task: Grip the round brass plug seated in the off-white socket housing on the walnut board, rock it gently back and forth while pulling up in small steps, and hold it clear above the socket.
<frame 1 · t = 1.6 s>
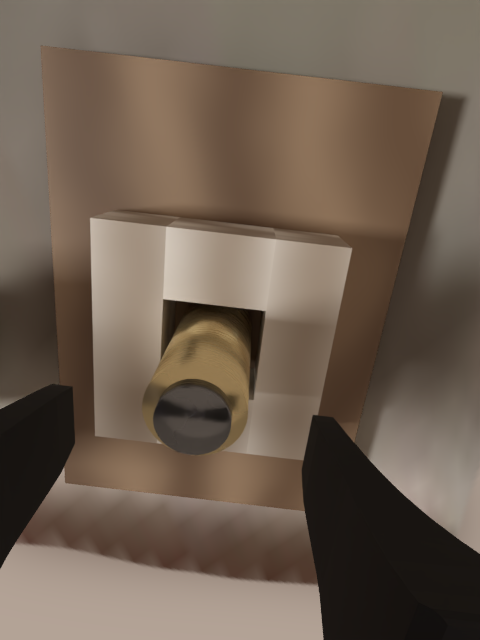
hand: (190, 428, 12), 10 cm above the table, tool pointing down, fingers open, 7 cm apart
header: (219, 315, 21), on the table
plug: (207, 363, 16), point 6 cm above the table, slide at 0.0 cm, touching header
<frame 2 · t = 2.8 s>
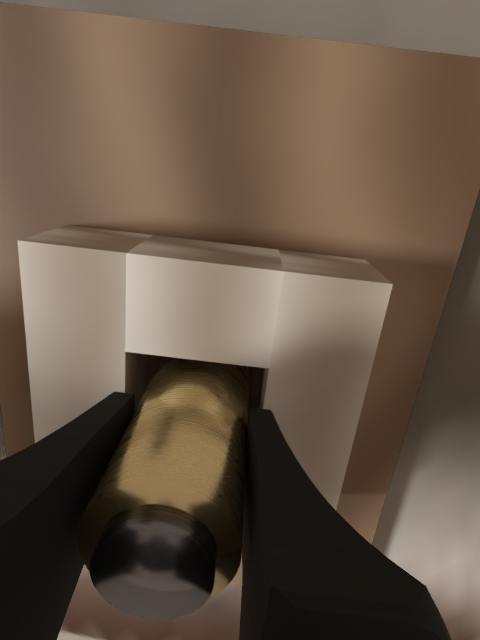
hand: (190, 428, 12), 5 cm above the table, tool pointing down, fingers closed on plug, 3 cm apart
header: (209, 357, 17), on the table
plug: (186, 442, 12), point 6 cm above the table, slide at 0.0 cm, touching gripper, header
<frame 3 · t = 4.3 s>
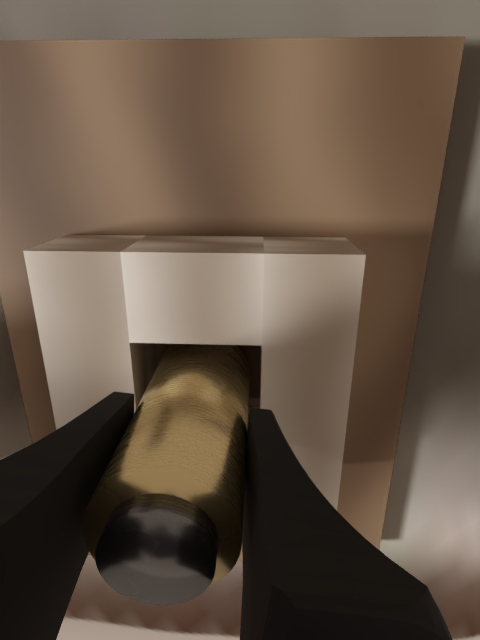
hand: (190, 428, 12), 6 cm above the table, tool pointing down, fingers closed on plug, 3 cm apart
header: (212, 345, 18), on the table
plug: (188, 436, 12), point 6 cm above the table, slide at 0.8 cm, touching gripper
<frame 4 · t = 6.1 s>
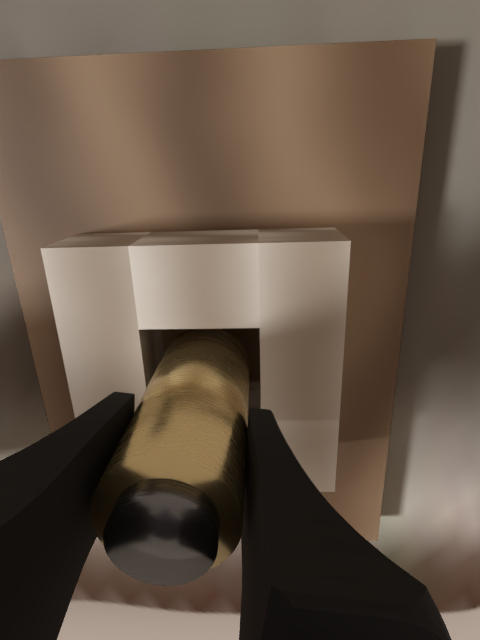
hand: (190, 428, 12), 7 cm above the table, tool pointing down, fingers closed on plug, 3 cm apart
header: (215, 334, 19), on the table
plug: (190, 427, 12), point 7 cm above the table, slide at 1.7 cm, touching gripper
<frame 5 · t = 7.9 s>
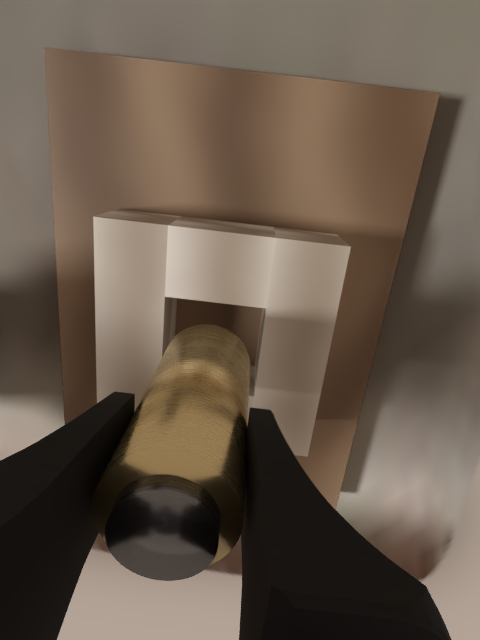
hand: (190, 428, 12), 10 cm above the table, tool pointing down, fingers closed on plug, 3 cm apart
header: (220, 313, 22), on the table
plug: (191, 425, 12), point 10 cm above the table, slide at 4.5 cm, touching gripper
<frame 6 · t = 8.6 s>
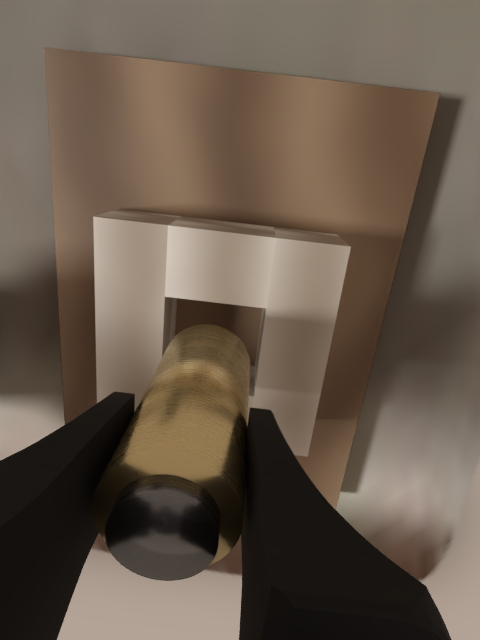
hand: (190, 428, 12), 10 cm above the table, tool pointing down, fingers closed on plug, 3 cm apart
header: (220, 313, 22), on the table
plug: (191, 425, 12), point 10 cm above the table, slide at 4.5 cm, touching gripper
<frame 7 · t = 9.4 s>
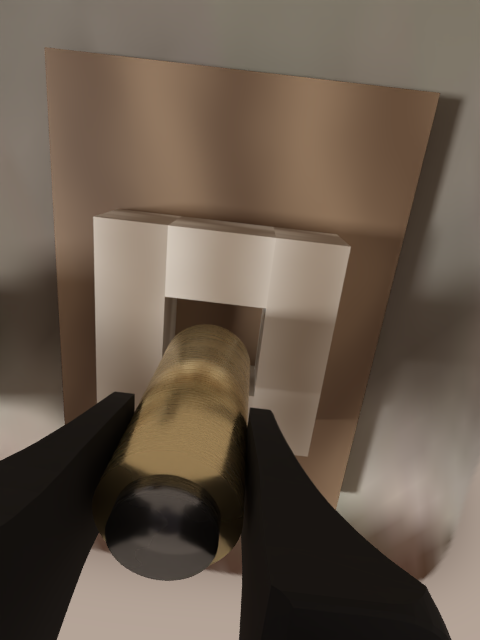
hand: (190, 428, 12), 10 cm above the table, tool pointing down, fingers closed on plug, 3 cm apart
header: (220, 313, 22), on the table
plug: (191, 425, 12), point 10 cm above the table, slide at 4.5 cm, touching gripper
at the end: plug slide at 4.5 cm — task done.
